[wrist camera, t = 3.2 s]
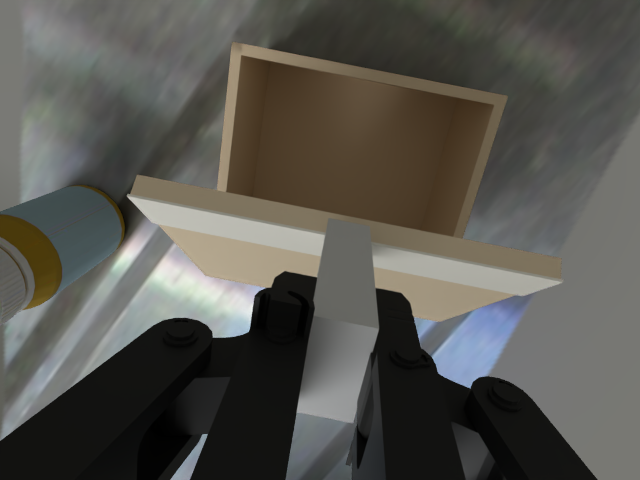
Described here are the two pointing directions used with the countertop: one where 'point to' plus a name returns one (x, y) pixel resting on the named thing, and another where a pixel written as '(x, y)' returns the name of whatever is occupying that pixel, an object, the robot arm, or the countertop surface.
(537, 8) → the countertop surface
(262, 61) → the carton
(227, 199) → the flap
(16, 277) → the bottle
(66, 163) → the countertop surface
